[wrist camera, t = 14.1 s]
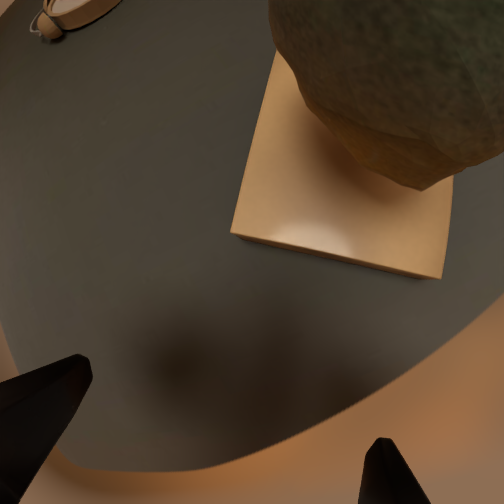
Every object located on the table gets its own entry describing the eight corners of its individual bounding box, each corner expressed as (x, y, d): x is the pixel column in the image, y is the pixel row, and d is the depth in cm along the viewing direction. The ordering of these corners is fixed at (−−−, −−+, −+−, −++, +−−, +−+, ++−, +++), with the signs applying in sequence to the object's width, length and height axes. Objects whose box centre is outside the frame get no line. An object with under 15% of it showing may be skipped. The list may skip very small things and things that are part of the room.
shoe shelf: (437, 106, 19) (452, 82, 16) (421, 279, 19) (441, 279, 15) (282, 73, 21) (277, 44, 18) (243, 239, 21) (229, 232, 17)
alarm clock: (127, -17, 22) (13, 39, 22) (138, 12, 27) (31, 60, 27) (127, -50, 24) (30, -5, 23) (136, -26, 29) (43, 14, 28)
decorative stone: (447, 182, 15) (627, 20, 1) (374, 247, 16) (607, 115, 1) (337, 67, 17) (334, -154, 2) (262, 118, 18) (162, -119, 3)
